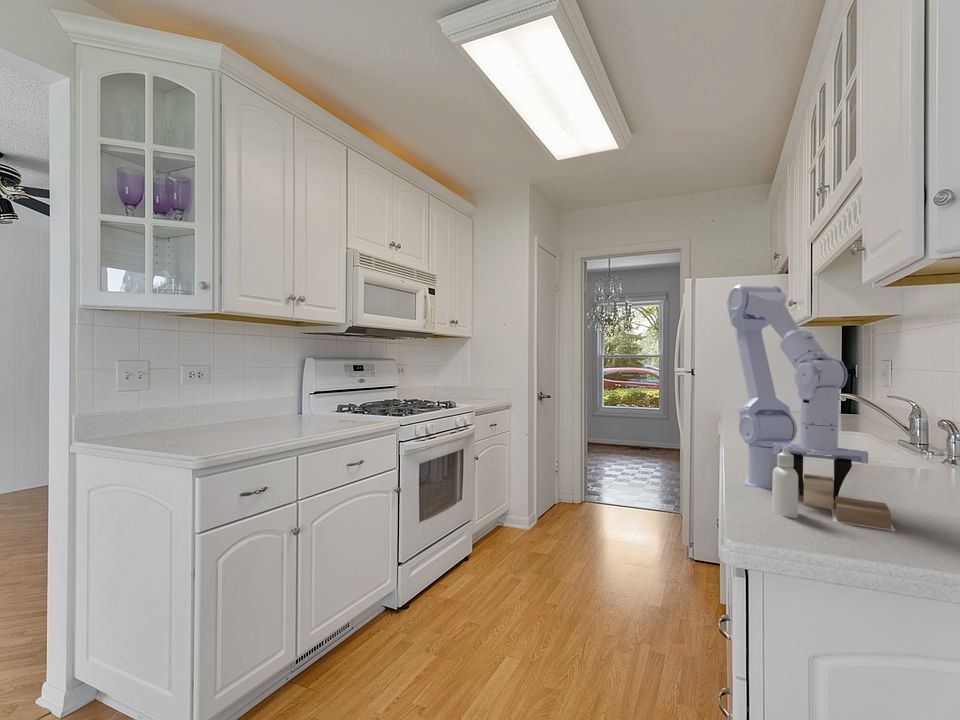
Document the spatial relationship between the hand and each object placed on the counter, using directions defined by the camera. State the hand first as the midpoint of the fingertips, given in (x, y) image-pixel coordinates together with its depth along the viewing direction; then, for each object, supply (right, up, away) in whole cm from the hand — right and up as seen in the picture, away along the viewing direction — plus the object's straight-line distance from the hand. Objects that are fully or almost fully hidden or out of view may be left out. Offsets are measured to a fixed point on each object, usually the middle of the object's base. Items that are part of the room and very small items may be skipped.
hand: (818, 496), depth 94 cm
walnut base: (+2, -1, -9) cm, 9 cm away
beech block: (0, -1, 0) cm, 1 cm away
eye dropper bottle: (-9, -2, -5) cm, 11 cm away
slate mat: (+1, -2, -6) cm, 6 cm away
